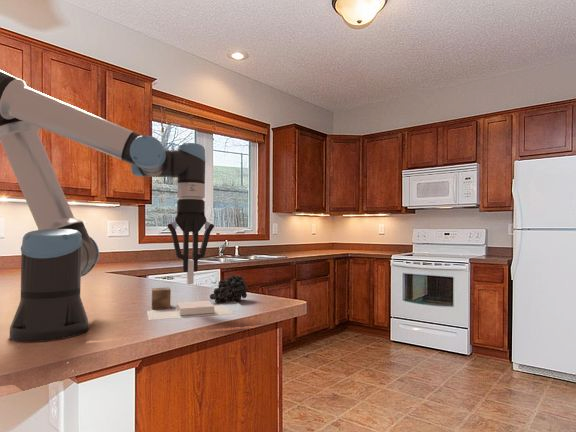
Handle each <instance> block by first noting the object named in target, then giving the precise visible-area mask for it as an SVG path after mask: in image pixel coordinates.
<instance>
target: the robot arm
mask: <svg viewBox="0 0 576 432" xmlns="http://www.w3.org/2000/svg"><path fill="white" fill-rule="evenodd" d="M42 129H43V130H46V131H48V132H50V133H52V134H55V135H57V136H60V137H63V138H65V139H68V140H70V141H72V142H75V143H78V144H80V145H83V146H86V147H88V148H91V149H93V150H96V151H98V152H101V153H103V154H105V155H108V156H111V157H113V158H114V159H115V158H116V159H117V160H121V161H123V162H125V163H128V164H130V169H131V173H132V174H133V176H135V177H144V178H177V191H176V192H177V193H176V194H177V196H176V197H177V198H178V200H177V203H176V216H175V219H174V220H173V221H172V222H170V223H167V225H166V227H167V229H168V230H169V232H170V234H171V239H172V243H173V248H174V252H175V256H176V258H178V259H180V260H182V271H183V272H184V273H186V284H187V285H194V283H195V282H194V278H195V274H194V273H197V271H198V267H199V266H198V263H199V262H198V261H199V260H200V259H203V258H204V257H205V255H206V252H207V247H208V243H209V240H210V236H211V232H212V231H213V229H214V228H215V224H214V223H211V222H209V221H207V218H206V215H205V212H206V210H205V209H206V204H205V203H206V201H205V200H204V199H205V198H206V149H205V146H203V145H202V144H200V143H195V142H182V143H179V144H178V147H177V150H168V149H165V147H164V144H163V143H161V142H160V140H159V139H157V138H156V137H155V136H152V135H143V134H140V133H138V132H136V131H133V130H131V129H129V128H126V127H123V126H121V125H119V124H117V123H114V122H111V121H110V120H107V119H104V118H102V117H100V116H97V115H95V114H93V113H90V112H87V111H86V110H83V109H81V108H79V107H77V106H74V105H71V104H69V103H68V102H67V103H66V102H64V101H62V100H59V99H57V98H54V97H52V96H50V95H47V94H45V93H42V92H40V91H38V90H35V89H33V88H31V87H29V86H27V83H26V81H24V80H23V79H22V78H19V77H16V76H14V75H11V74H9V73H7V72H5V71H3V70H1V69H0V144H1V146H2V148H3V151H4V153H5V156H6V158H7V160H8V162H9V165H10V168H11V169H12V172H13V174H14V177H15V179H16V180H17V184H18V185H19V188H20V191H21V192H22V195H23V196H24V199H25V201H26V204H27V206H28V208H29V211H30V213H31V216H32V217H33V220H34V222H35V225H36V227H37V230H31V231H28V232H27V233H24V235H23V237H22V242H21V246H20V251H21V257H20V261H21V263H20V264H21V265H20V266H21V267H20V299H19V300H20V301H19V303H18V307H17V309H16V311H15V314H14V317H13V319H12V321H11V324H10V327H9V339H10V340H12V341H15V342H22V343H23V342H24V343H35V342H49V341H56V340H62V339H67V338H71V337H75V336H79V335H82V334H84V333H86V332H87V331H88V330H89V319H88V315H87V312H86V310H85V306H84V303H83V300H82V298H81V286H82V285H81V281H82V279H81V278H82V277H84V276H86V275H87V274H88V273H90V272H91V271H92V270H93V269H94V268H95V267H96V265H97V264H98V260H99V257H100V249H99V246H98V244H97V242H96V241H95V240H94V238H92V237H91V236H90V235H89V233H88V231H87V229H86V226H85V224H84V222H83V220H80V219H78V218H76V217H74V213H73V212H72V209H71V206H70V204H69V202H68V200H67V198H66V195H65V192H64V190H63V188H62V185H61V184H60V182H59V179H58V176H57V175H56V172H55V169H54V167H53V164H52V162H51V160H50V159H49V158H50V157H49V156H48V153H47V150H46V148H45V146H44V144H43V142H42V139H41V137H40V131H41V130H42ZM177 226H178V227H179V228H180V230H181V231H182V235H183V237H182V239H183V241H182V251H181V246H180V243H179V239H178V234H177V233H178V232H177V231H176V229H177V228H178V227H177ZM203 227H204V229H205V230H204V233H203V238H202V240H201V245H200V249H199V232H200V231H201V229H202V228H203ZM190 233H192V243H191V244H192V246H191V247H192V255H191V258H192V259H189V255H190V252H189V247H190V246H189V245H190V244H189V243H190V238H189V237H190Z"/></svg>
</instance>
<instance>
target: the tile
mask: <svg viewBox="0 0 576 432" xmlns="http://www.w3.org/2000/svg"><path fill="white" fill-rule="evenodd" d="M214 306H215V305H213V304H212V302H210V301H209V300H201V301H200V300H199V301H184V302H176V309H177V310H178V312H179V314H180V315H181V316H190V315H203V314H213V313H214Z"/></svg>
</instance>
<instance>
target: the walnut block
mask: <svg viewBox="0 0 576 432" xmlns="http://www.w3.org/2000/svg"><path fill="white" fill-rule="evenodd" d="M171 297H172V296H171V288H170V287H168V286H167V287H152V288H151V310H166V309H171Z"/></svg>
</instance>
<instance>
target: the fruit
mask: <svg viewBox="0 0 576 432" xmlns="http://www.w3.org/2000/svg"><path fill="white" fill-rule="evenodd" d="M248 290H249V287H248V285H247V282H246V281H244V277H243V275H231V276H228V277H226V279H224V280H219V281H218V286H217V287H215V288H214V289H213V293H211V294H209V299H210V300H214V302H215V304H219V303H222V302H224V301H225V302H227V303H229V302H230V303H231V301H232V302H233V301H237V302H240V301H242V299H245V298H247V297H248V295H247V292H248Z"/></svg>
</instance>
